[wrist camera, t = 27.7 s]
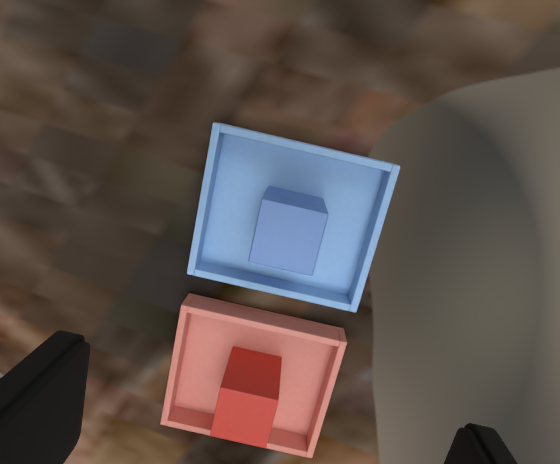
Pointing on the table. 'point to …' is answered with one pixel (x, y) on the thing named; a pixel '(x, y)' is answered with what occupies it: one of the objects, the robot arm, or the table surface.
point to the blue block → (289, 230)
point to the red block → (248, 397)
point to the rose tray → (262, 338)
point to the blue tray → (299, 178)
